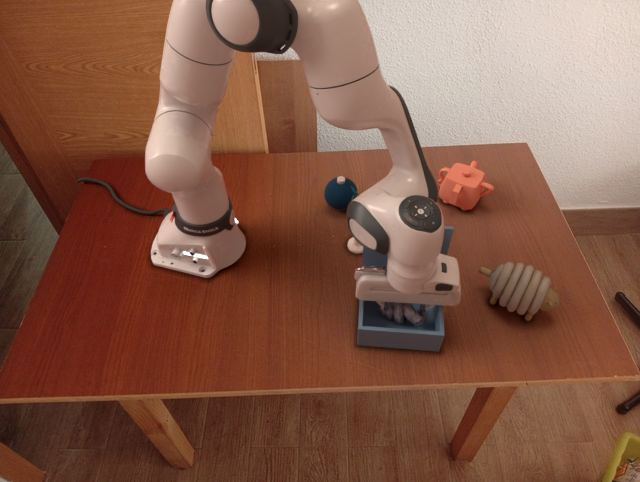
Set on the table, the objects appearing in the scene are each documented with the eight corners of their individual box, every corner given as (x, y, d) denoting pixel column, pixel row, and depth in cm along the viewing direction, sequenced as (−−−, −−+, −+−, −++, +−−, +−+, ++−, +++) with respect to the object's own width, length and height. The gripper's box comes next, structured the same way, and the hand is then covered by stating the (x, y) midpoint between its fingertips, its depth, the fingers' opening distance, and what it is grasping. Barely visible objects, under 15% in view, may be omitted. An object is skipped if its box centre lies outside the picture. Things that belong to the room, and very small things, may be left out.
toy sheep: (544, 338, 99) (564, 309, 90) (464, 305, 104) (476, 275, 96) (555, 299, 105) (575, 269, 96) (479, 270, 110) (491, 239, 102)
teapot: (471, 179, 129) (480, 151, 122) (488, 211, 122) (499, 183, 114) (430, 185, 128) (435, 156, 121) (444, 217, 121) (452, 189, 113)
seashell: (425, 322, 103) (378, 317, 104) (427, 298, 101) (380, 293, 103) (426, 332, 97) (377, 326, 99) (429, 307, 96) (379, 302, 98)
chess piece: (366, 255, 114) (368, 227, 106) (345, 252, 115) (346, 224, 107) (369, 239, 117) (371, 211, 109) (349, 236, 118) (350, 208, 110)
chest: (438, 351, 98) (444, 335, 92) (357, 345, 99) (358, 329, 94) (435, 295, 106) (440, 277, 101) (360, 290, 108) (361, 272, 102)
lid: (453, 229, 90) (451, 210, 93) (364, 224, 91) (365, 205, 95) (441, 277, 100) (439, 259, 104) (361, 272, 102) (362, 254, 105)
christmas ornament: (339, 222, 121) (339, 194, 113) (317, 203, 125) (316, 175, 117) (363, 206, 124) (365, 177, 116) (342, 188, 128) (342, 160, 120)
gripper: (353, 280, 88) (352, 318, 98) (468, 287, 85) (455, 325, 96) (355, 252, 91) (354, 292, 102) (465, 258, 89) (453, 298, 100)
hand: (404, 308), depth 99 cm, fingers closed on seashell, 6 cm apart
